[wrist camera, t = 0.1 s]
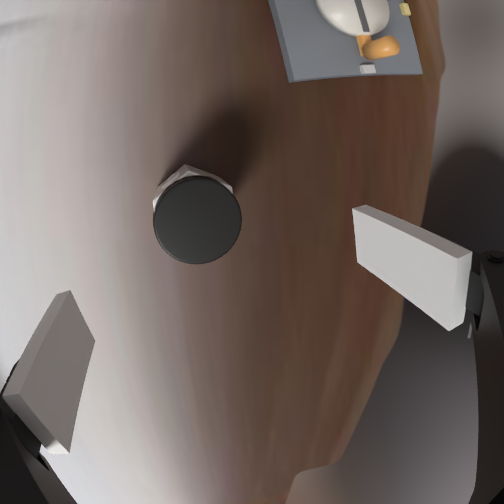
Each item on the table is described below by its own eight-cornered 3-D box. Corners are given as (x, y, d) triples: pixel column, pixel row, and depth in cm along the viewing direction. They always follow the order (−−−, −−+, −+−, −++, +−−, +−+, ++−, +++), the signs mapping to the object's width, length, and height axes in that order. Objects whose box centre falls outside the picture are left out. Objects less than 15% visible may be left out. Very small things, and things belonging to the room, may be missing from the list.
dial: (305, -30, 30) (325, -50, 24) (371, -24, 32) (396, -38, 26) (331, 64, 36) (357, 54, 30) (395, 62, 37) (425, 56, 31)
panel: (253, -51, 29) (258, -60, 27) (380, -41, 32) (390, -46, 30) (288, 82, 38) (296, 79, 35) (414, 75, 41) (425, 73, 38)
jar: (198, 151, 38) (208, 155, 27) (237, 200, 42) (262, 224, 31) (142, 197, 38) (130, 221, 27) (183, 244, 42) (189, 284, 31)
